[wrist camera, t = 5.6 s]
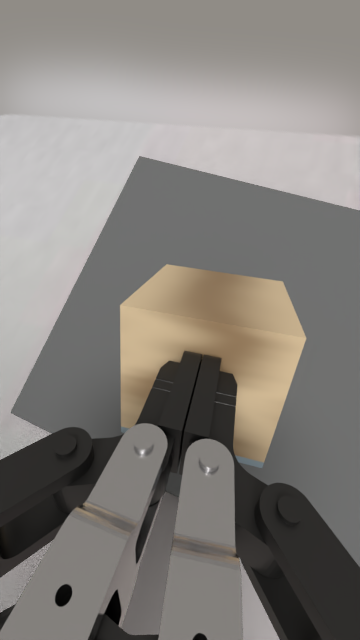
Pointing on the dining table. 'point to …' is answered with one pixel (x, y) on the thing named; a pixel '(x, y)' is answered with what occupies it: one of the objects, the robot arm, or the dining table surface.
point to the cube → (214, 344)
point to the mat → (234, 258)
